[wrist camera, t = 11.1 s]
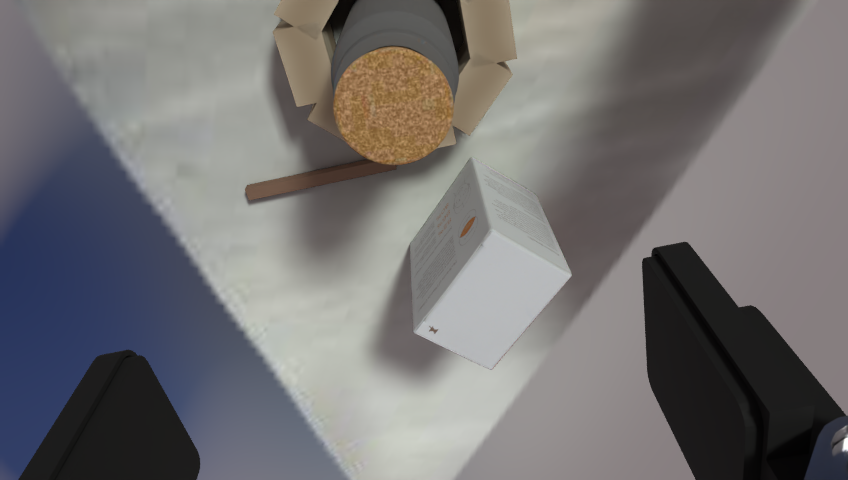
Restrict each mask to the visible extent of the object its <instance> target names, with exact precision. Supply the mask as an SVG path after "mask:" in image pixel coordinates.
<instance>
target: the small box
mask: <svg viewBox="0 0 848 480" xmlns="http://www.w3.org/2000/svg"><path fill="white" fill-rule="evenodd" d="M410 264H411V291H412V317H413V333H415V334H417V335H419V336H421V337H423V338H425V339H427V340H429V341H431V342H433V343H435V344H437V345H439V346H442V347H444V348H446V349H448V350H450V351H452V352H454V353H456V354H458V355H460V356H462V357H464V358H466V359H469V360H471V361H473V362H475V363H477V364H479V365H481V366H483V367H486V368H488V369H490V370H492V369H493V368H494V367H495V366H496V364H497V363H498V362H499V361H500V360H501V359H502V357H503V356H504V355H505V354H506V353H507V352H508V350H509V349H510V348H511V347H512V346H513V344H514V343H515V342H516V341H517V340H518V339H519V337H520V336H521V335H522V334H523V333H524V331H525V330H526V329H527V328H528V327H529V326H530V324H531V323H532V322H533V321H534V320H535V319H536V317H537V316H538V315H539V314H540V313H541V311H542V310H543V309H544V308H545V307H546V306H547V304H548V303H549V302H550V301H551V300H552V299H553V297H554V296H555V295H556V294H557V293H558V292H559V290H560V289H561V288H562V287H563V286H564V285H565V283H566V282H567V281H568V280H569V279H570V278H571V277H572V273H571V271H570V269H569V266H568V264H567V262H566V260H565V258H564V255H563V253H562V251H561V249H560V247H559V244H558V242H557V240H556V238H555V235H554V233H553V231H552V229H551V227H550V224H549V222H548V220H547V218H546V216H545V213H544V211H543V209H542V207H541V205H540V202H539V200H538V198H537V196H536V195H535V194H534V193H532V192H531V191H529V190H527V189H526V188H524V187H523V186H521V185H519V184H518V183H516V182H514V181H513V180H511V179H509V178H508V177H506V176H504V175H502V174H501V173H499V172H497V171H496V170H494V169H492V168H491V167H489V166H487V165H486V164H484V163H482V162H480V161H479V160H477V159H475V158H473V157H471V158H470V159H469V161H468V162H467V164H466V165H465V167H464V168H463V170H462V171H461V172H460V174H459V175H458V177H457V178H456V180H455V181H454V183H453V184H452V185H451V187H450V188H449V190H448V191H447V193H446V194H445V195H444V197H443V198H442V200H441V201H440V203H439V204H438V205H437V207H436V208H435V210H434V211H433V212H432V214H431V215H430V217H429V218H428V220H427V221H426V223H425V224H424V226H423V227H422V228H421V230H420V231H419V233H418V234H417V235H416V237H415V238H414V240H413V241H412V242H411V244H410Z"/></svg>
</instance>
